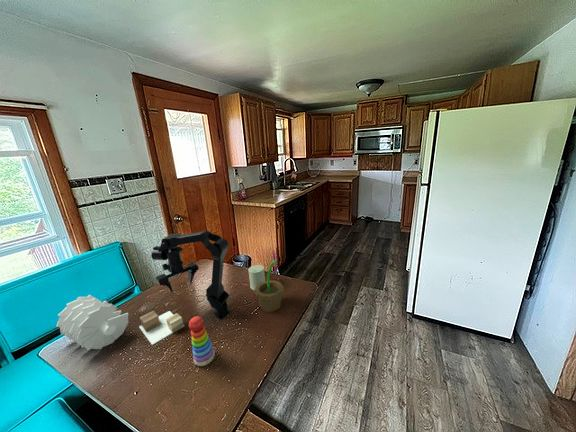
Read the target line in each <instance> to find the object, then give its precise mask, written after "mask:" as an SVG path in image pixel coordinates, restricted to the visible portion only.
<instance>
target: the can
mask: <svg viewBox="0 0 576 432" xmlns="http://www.w3.org/2000/svg"><path fill="white" fill-rule="evenodd" d="M248 276H249V285H250V286H249V287H250V289H251V290H252V291H255V288H256V286H257V285H258V284H260V283H261V282H265V281H266V276H265V267H264V265H261V264H255V265H251V266H249V267H248Z"/></svg>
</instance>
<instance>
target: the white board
mask: <svg viewBox="0 0 576 432" xmlns="http://www.w3.org/2000/svg"><path fill="white" fill-rule="evenodd" d="M172 315H174V314H173V313H172V312H171V311H170V310H169V311H166V312H165V313H162V314H160V315H158V317H159V321H160V325H159V326H157V327H155V328H153V329H151V330H150V331H148V332H146V331H145V330H144V328H143V327H142V324H141V325H139V326H138V327H139V329H140V330H141V332H142V333H143V335H144V336H145V338H146V339H147V341H149V342H148V343H150V344H151V346H154V345H155V344H157V343H158V342H161V340H163V339H166V338H167V337H169V336H171V335H172V334H173V333H172V331H171V330H170V329H169V328H168V324H167V320H166V319H167V318H169V317H171V316H172ZM183 325H184V326H185V324H184V323H183ZM181 329H182V328H180V329H179V330H181Z"/></svg>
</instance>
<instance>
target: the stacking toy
mask: <svg viewBox="0 0 576 432" xmlns="http://www.w3.org/2000/svg"><path fill="white" fill-rule="evenodd" d="M188 328H189V329H190V334H191V345H192V347H191V348H192V357H193V358H192V360H193V363H194V365H195V366H198V367H204V366H206V365H208V364H210V363H211V362H212V361H213V360H214V358H215V355H216V351H215V349H214V346H213V344H212V342H211V339H210V337H209V335H208V333H207V330H206V326H204V319H203V318H202V317H201V316H200V315H199V316H198V315H197V316H194V317H192V318H191V319H190V320H189V321H188Z"/></svg>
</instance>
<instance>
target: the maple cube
mask: <svg viewBox="0 0 576 432" xmlns="http://www.w3.org/2000/svg"><path fill="white" fill-rule="evenodd" d="M166 320H167V324H168V328H169V329H170V330H171V331H172V334H174V333H176V332H177V331H179V330H181V329H183V328H184V327H185V324H184V321H183V318H182V316H181V315H180V314H179V313H175V314H173V315H172V316H171V317H169V318H167V319H166ZM183 324H184V325H183ZM180 328H181V329H180Z"/></svg>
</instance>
